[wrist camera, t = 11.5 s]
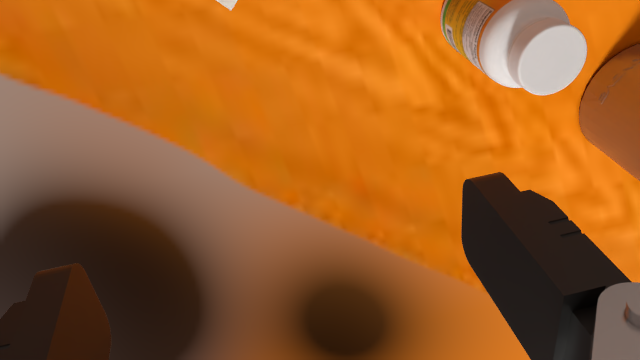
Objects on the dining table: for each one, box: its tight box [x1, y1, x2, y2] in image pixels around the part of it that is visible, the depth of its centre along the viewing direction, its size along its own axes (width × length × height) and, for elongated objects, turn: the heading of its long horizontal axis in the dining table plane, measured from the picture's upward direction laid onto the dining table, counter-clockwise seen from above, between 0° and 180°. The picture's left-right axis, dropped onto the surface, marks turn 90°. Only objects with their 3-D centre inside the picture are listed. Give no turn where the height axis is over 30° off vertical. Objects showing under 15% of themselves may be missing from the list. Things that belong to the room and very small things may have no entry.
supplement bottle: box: [441, 0, 587, 95], centre depth 33 cm, size 5×5×10 cm
